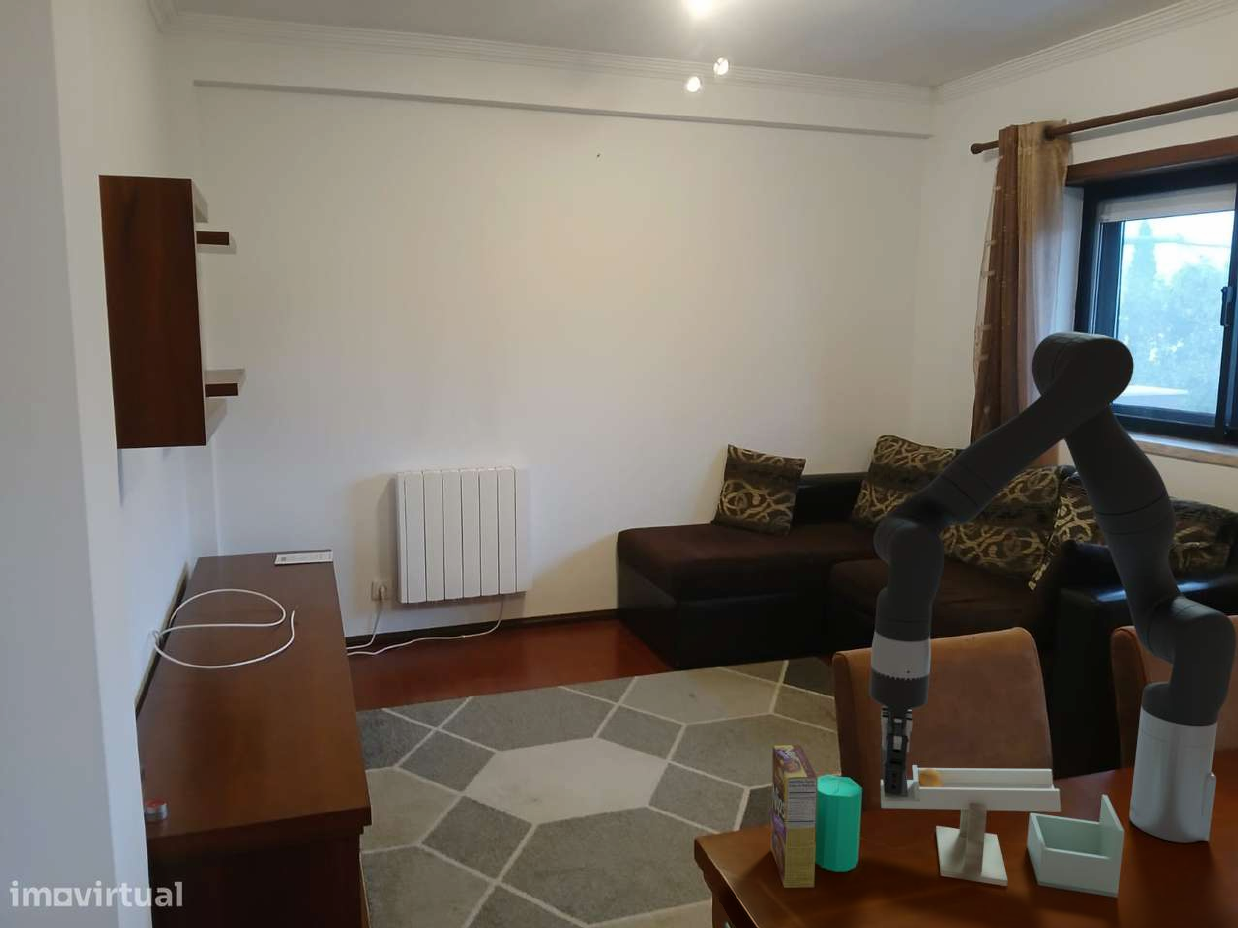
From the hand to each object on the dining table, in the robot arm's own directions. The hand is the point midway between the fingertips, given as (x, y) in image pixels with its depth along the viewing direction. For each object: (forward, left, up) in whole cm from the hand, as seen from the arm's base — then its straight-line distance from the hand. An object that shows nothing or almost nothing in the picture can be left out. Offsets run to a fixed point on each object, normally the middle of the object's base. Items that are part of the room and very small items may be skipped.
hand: (892, 784), depth 126 cm
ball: (-5, 0, +1) cm, 5 cm away
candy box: (+12, +10, -9) cm, 18 cm away
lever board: (-10, 0, -1) cm, 10 cm away
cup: (-23, 0, -9) cm, 25 cm away
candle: (+7, +6, -9) cm, 13 cm away
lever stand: (-10, 0, -9) cm, 14 cm away
